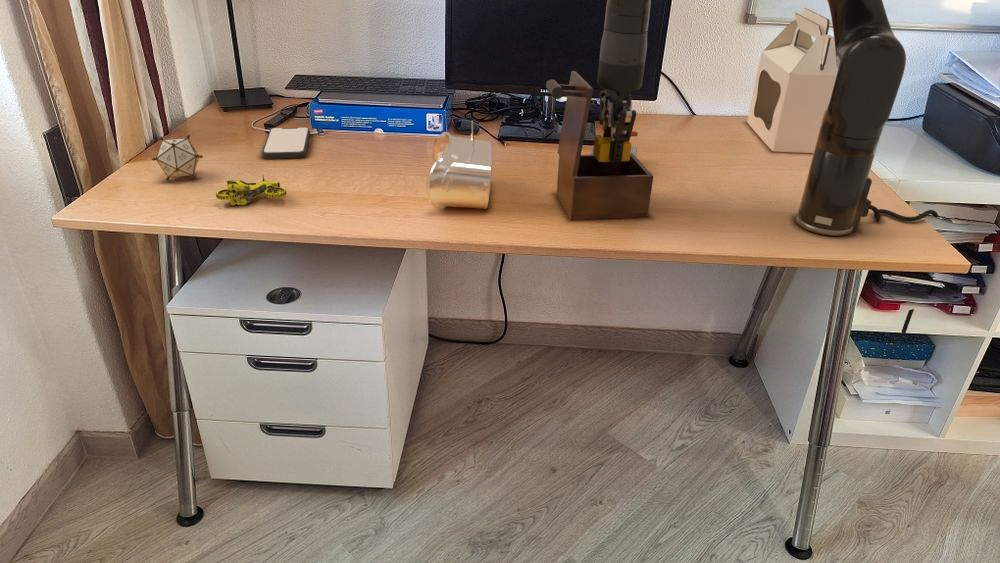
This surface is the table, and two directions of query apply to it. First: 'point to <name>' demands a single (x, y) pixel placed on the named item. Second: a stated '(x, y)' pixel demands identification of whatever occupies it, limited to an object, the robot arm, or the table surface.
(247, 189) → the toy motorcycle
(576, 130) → the chest lid
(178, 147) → the game die
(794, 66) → the gable box
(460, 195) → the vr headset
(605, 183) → the toy chest
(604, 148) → the toy duck
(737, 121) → the table surface
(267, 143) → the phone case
